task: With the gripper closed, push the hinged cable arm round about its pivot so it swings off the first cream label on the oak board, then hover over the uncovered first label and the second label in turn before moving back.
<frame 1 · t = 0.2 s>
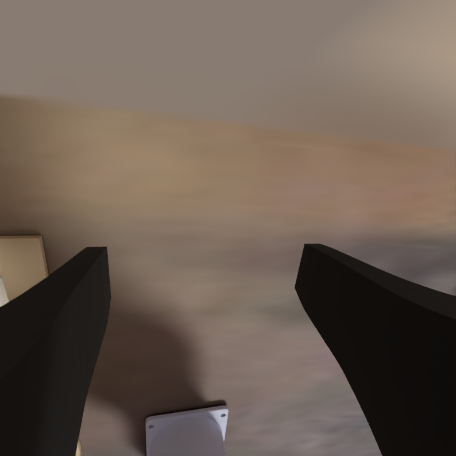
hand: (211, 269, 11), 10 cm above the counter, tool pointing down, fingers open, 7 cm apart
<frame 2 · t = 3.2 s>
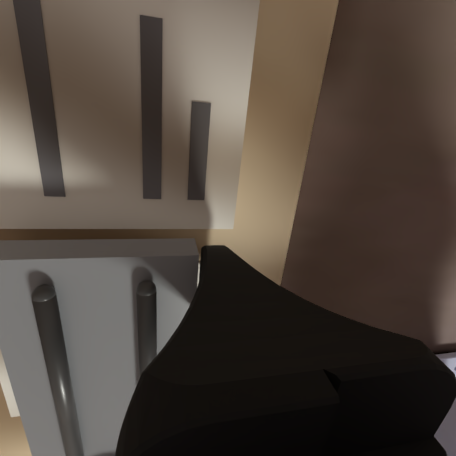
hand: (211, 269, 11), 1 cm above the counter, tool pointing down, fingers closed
cable arm: (111, 394, 11), point 2 cm above the counter, hinge at 0.3°, touching gripper
label board: (112, 253, 11), on the counter
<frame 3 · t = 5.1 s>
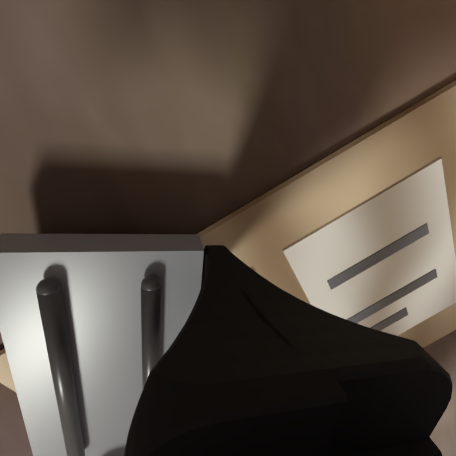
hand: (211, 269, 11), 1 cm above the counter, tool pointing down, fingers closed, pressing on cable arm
cable arm: (113, 389, 11), point 2 cm above the counter, hinge at 55.4°, touching gripper
label board: (291, 322, 15), on the counter
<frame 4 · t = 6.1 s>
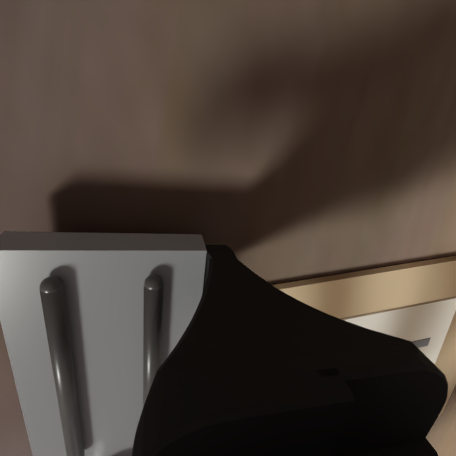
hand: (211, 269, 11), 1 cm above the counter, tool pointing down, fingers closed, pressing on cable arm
cable arm: (113, 389, 11), point 2 cm above the counter, hinge at 81.5°, touching gripper
label board: (303, 378, 17), on the counter
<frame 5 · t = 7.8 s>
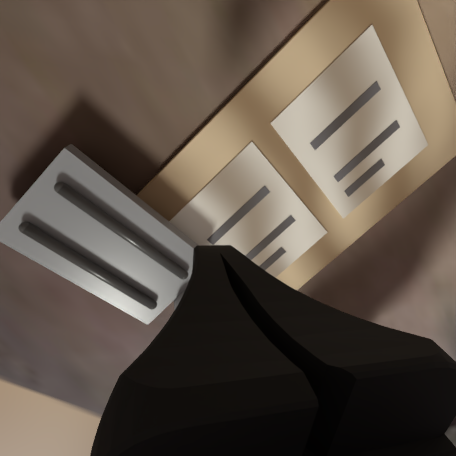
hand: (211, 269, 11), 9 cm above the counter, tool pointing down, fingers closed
cable arm: (130, 259, 17), point 2 cm above the counter, hinge at 91.1°
label board: (293, 186, 20), on the counter
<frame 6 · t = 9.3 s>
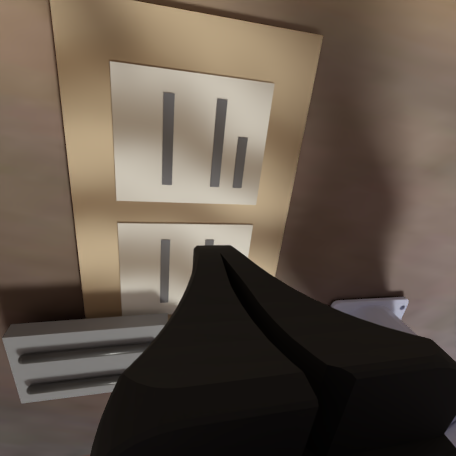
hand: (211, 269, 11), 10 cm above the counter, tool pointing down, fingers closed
cable arm: (113, 358, 21), point 2 cm above the counter, hinge at 91.1°
label board: (188, 217, 20), on the counter
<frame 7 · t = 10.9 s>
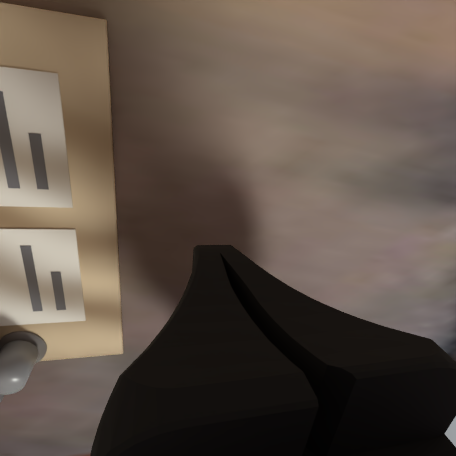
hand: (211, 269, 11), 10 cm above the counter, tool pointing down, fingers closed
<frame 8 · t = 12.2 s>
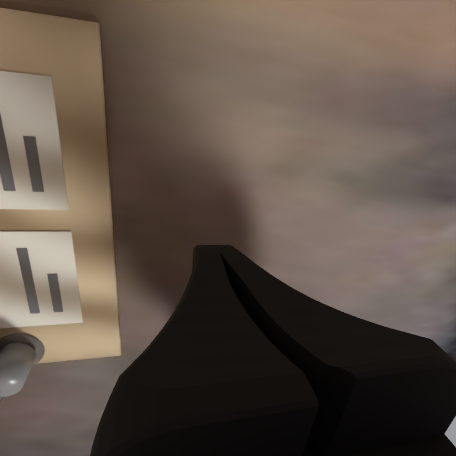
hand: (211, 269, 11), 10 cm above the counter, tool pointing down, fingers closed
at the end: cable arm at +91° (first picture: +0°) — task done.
